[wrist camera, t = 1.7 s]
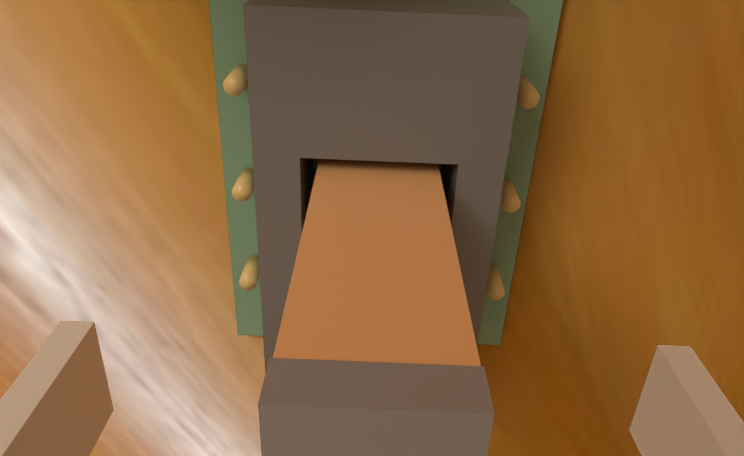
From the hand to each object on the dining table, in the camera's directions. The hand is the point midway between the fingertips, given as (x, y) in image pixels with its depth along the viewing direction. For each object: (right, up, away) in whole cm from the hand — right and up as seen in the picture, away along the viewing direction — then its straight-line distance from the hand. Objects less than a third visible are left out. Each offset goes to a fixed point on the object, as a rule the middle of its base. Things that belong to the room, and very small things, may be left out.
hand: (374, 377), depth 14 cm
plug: (0, +5, +9) cm, 11 cm away
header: (0, +6, +10) cm, 11 cm away
